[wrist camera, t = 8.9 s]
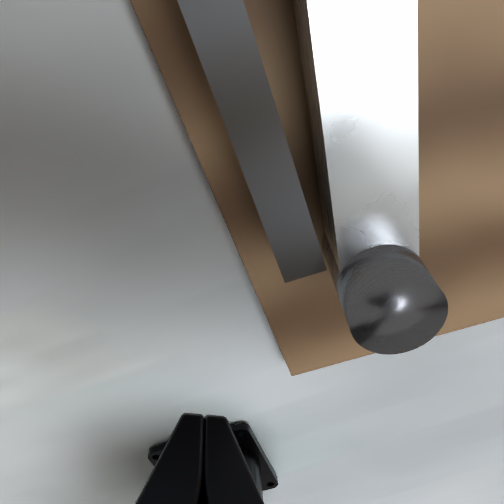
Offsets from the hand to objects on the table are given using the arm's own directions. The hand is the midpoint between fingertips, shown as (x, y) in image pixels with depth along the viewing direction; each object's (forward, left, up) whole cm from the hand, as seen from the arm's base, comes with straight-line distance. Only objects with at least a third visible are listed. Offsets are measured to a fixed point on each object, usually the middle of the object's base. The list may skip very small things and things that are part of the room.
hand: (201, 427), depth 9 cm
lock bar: (+1, -6, -10) cm, 12 cm away
